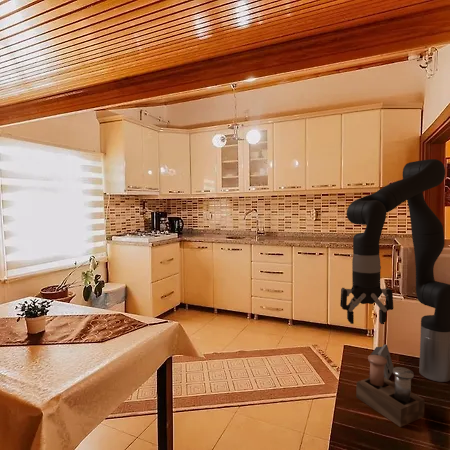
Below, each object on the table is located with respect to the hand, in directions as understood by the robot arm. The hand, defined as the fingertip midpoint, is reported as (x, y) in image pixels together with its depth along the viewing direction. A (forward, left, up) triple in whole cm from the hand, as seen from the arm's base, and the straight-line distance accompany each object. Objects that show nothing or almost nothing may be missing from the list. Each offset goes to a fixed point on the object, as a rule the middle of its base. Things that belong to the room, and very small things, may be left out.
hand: (366, 323), depth 95 cm
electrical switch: (-21, -10, -25) cm, 34 cm away
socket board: (-6, +4, -25) cm, 26 cm away
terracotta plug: (-6, -1, -20) cm, 21 cm away
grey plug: (-6, +8, -20) cm, 22 cm away
